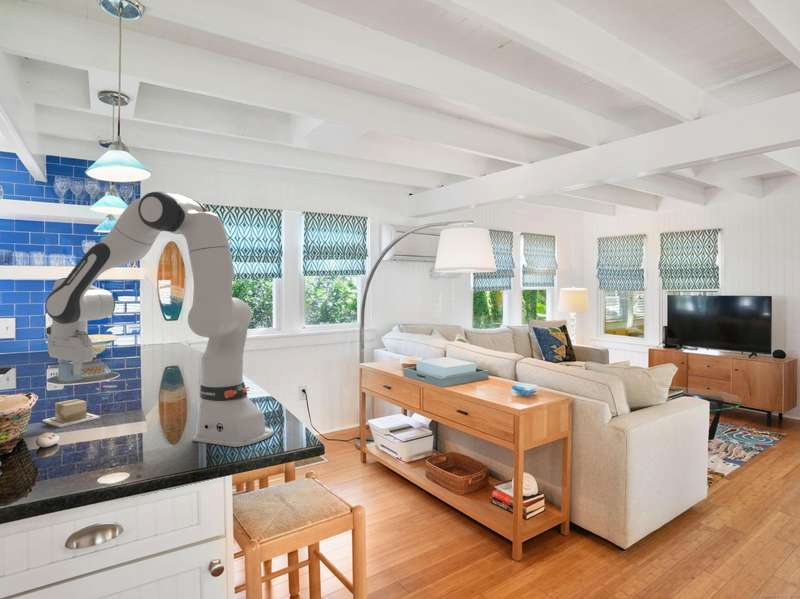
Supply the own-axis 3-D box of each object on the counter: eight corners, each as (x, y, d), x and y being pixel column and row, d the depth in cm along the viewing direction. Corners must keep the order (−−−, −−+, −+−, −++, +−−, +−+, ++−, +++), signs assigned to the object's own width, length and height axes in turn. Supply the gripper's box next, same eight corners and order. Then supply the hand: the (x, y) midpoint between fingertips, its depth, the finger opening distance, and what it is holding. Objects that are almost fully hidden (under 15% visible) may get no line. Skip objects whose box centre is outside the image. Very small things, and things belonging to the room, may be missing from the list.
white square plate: (99, 418, 145) (99, 416, 145) (60, 427, 135) (60, 425, 135) (81, 413, 150) (81, 411, 150) (42, 421, 141) (42, 419, 141)
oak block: (86, 417, 144) (86, 401, 143) (65, 422, 138) (64, 405, 138) (76, 414, 146) (76, 398, 146) (55, 419, 141) (55, 403, 141)
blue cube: (82, 379, 143) (82, 363, 143) (65, 381, 139) (65, 365, 139) (75, 377, 145) (74, 361, 145) (58, 380, 141) (58, 363, 141)
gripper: (99, 330, 139) (99, 376, 140) (65, 327, 149) (65, 369, 150) (76, 332, 134) (76, 379, 134) (42, 328, 144) (43, 372, 144)
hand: (70, 374), depth 142 cm, fingers closed on blue cube, 5 cm apart
